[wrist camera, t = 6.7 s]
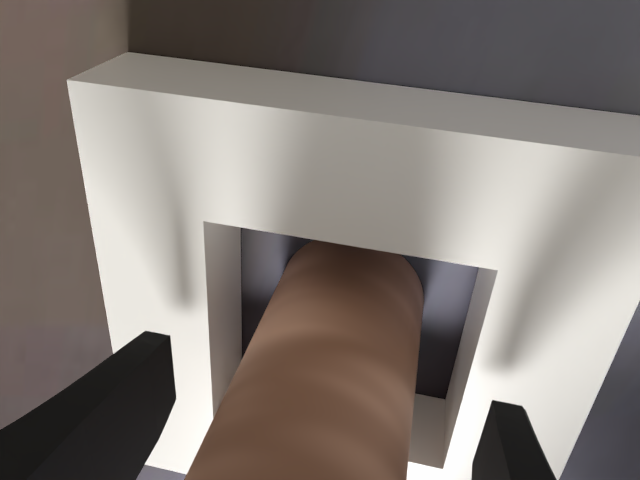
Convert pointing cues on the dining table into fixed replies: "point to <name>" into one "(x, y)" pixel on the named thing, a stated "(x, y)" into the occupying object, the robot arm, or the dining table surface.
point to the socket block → (364, 228)
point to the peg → (324, 374)
